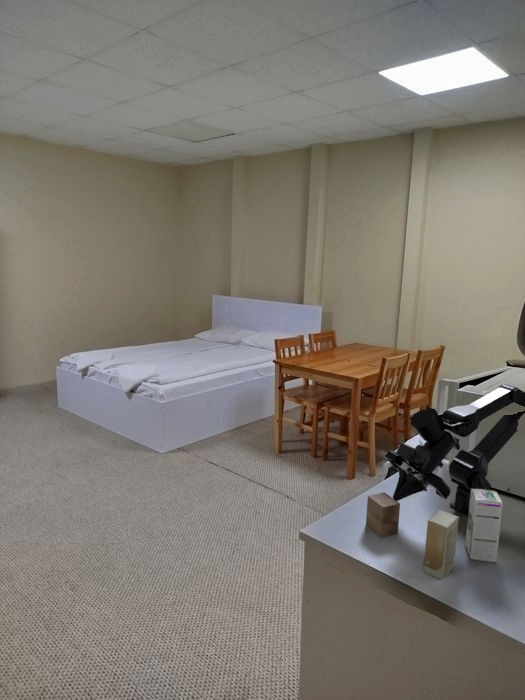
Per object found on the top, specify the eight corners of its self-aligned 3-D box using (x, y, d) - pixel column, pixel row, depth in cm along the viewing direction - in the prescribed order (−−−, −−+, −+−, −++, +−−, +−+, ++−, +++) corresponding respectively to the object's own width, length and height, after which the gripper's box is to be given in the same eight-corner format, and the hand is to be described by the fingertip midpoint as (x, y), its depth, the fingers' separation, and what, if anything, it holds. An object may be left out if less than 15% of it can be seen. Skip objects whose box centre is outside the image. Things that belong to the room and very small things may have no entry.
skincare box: (434, 559, 109) (440, 508, 106) (454, 567, 106) (460, 516, 103) (421, 571, 104) (426, 519, 102) (441, 581, 101) (447, 527, 99)
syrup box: (497, 563, 108) (505, 502, 105) (468, 559, 109) (475, 499, 106) (490, 548, 113) (498, 490, 111) (463, 544, 114) (470, 487, 112)
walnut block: (382, 521, 124) (384, 492, 122) (397, 533, 118) (400, 503, 117) (365, 525, 122) (367, 495, 120) (380, 538, 116) (383, 507, 115)
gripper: (393, 420, 127) (354, 466, 125) (446, 446, 111) (403, 499, 108) (414, 445, 132) (377, 489, 130) (468, 473, 115) (427, 525, 113)
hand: (394, 499), depth 120 cm, fingers closed
